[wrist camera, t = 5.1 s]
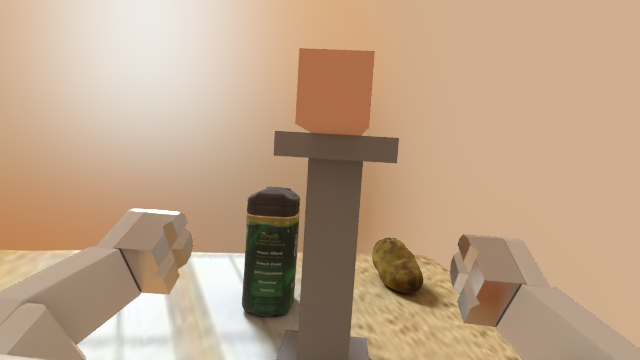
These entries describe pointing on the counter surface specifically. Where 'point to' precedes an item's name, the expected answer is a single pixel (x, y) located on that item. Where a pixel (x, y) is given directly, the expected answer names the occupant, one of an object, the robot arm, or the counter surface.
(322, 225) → the stand
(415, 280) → the potato
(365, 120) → the block
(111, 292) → the robot arm
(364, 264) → the counter surface
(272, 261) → the coffee jar
